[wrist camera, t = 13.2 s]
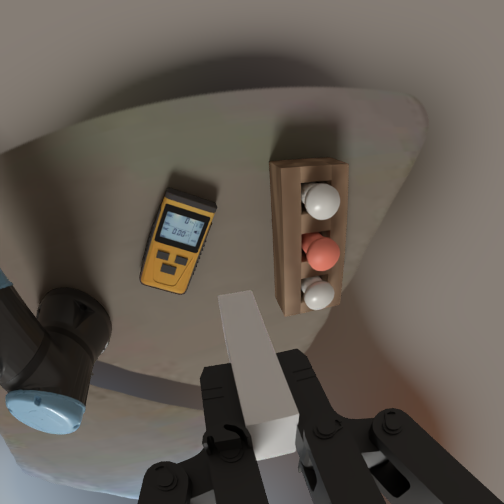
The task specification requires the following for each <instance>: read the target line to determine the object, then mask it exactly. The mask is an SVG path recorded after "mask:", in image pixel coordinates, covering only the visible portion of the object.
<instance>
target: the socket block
mask: <svg viewBox="0 0 504 504" xmlns="http://www.w3.org/2000/svg"><path fill="white" fill-rule="evenodd" d="M348 168H349V164H347V163H345V162H342V161H339V160H336V159H333V158H331V157H326V158H308V159H293V160H280V161H269V171H270V189H271V208H272V229H273V252H274V277H275V297H276V299H277V301H278V304H279V306H280V308H281V310H282V312H283V314H284V316H285V317H286V316H291V315H295V314H300V313H305V312H309V311H314V310H313V309H310V308H309V307H308V306H307V304H306V303H305V301H304V292H303V291H302V289H301V279H304V278H309V277H314V276H319V277H320V278H321V279H322V280H323V281H327V282H328V283H329V284H330V285H331V286H332V287H333V289H334V298H333V300H332V301H331V303H330V304H329V305H328V306H326V307H325V308H327V307H332V306H335V305H339V304H340V297H341V288H342V278H343V267H344V255H345V242H346V226H347V205H348ZM304 182H316V183H318V184H319V183H325V184H328V185H330V186H332V187H334V188H335V189H336V190H337V191H338V193H339V196H340V205H339V208H338V210H337V212H336V213H335V214H334V215H333V216H332V217H330V218H328V219H325V220H319V219H316V218H314V217H312V216H311V215H310V214H309V213H308V212H307V210H306V208H305V204H304V203H302V202H301V183H304ZM313 232H319V233H320V234H321V235H322V236H323V237H328V238H331V239H332V240H333V241H335V242H336V243H337V245H338V246H339V249H340V256H339V259H338V261H337V262H336V264H335V265H334V266H333V267H331V268H330V269H328V270H325V271H317V270H315V269H313V268H312V267H311V266H310V264H309V263H308V261H307V258H306V253H305V251H304V250H303V249H302V248H301V234H306V233H313ZM322 309H323V308H322Z"/></svg>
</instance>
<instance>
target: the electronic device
mask: <svg viewBox="0 0 504 504" xmlns="http://www.w3.org/2000/svg"><path fill="white" fill-rule="evenodd" d="M216 209H217V205H216V203H214V202H211V201H208V200H205V199H202V198H199V197H196V196H193V195H190V194H187V193H184V192H181V191H178V190H175V189H171V188H167V190H166V193H165V196H164V199H163V202H162V205H160V208H159V211H158V214H157V217H156V220H155V222H154V223H153V227H152V229H151V233H150V236H149V240H148V243H147V246H146V250H145V253H144V257H143V265H142V268H141V272H140V276H139V279H140V282H141V284H143V285H146V286H149V287H153V288H156V289H160V290H164V291H168V292H171V293H175V294H179V295H182V294H185V292H186V291H187V289H188V286H189V283H190V280H191V278H192V275H194V271H195V267H197V263H198V259H200V255H201V251H203V247H204V246H205V245H204V243H205V242H206V238H207V235H208V233H209V230H210V228H211V225H212V219H213V216H214V214H215V212H216Z"/></svg>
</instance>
